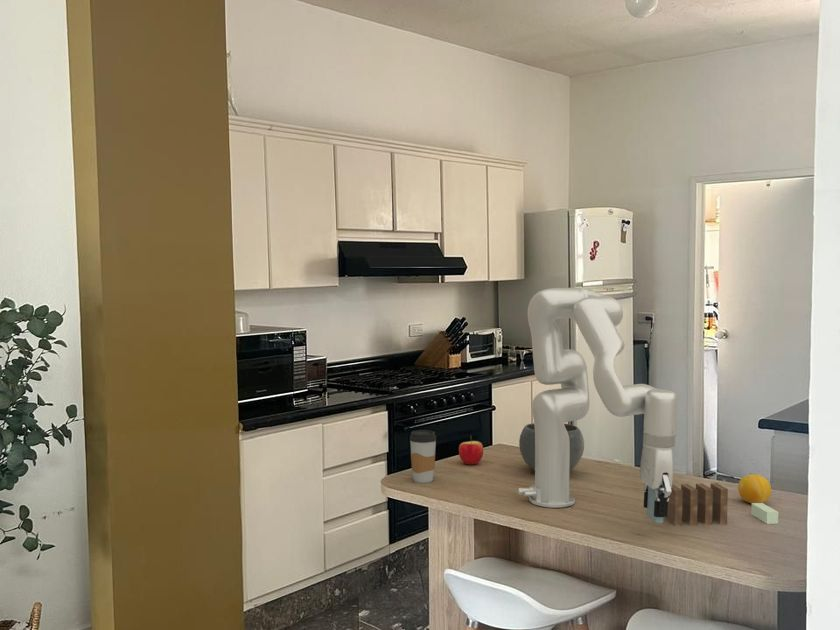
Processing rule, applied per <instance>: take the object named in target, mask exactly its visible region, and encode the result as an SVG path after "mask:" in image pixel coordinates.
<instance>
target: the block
mask: <svg viewBox="0 0 840 630" xmlns="http://www.w3.org/2000/svg"><path fill="white" fill-rule="evenodd" d="M750 507H751V509H750V510H751V511H750V512H751V513H750V514H751V516H753V517H755V518H756V517H757V519H758V520H760V521H761V522H763V523H765V524H766V525H770V524H771V525H772V524H773V525H775V524H776V525H777V524H779V511H777V510H775V509H774V508H772V507H770V506H769V505H766V504H765V503H751V506H750Z"/></svg>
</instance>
